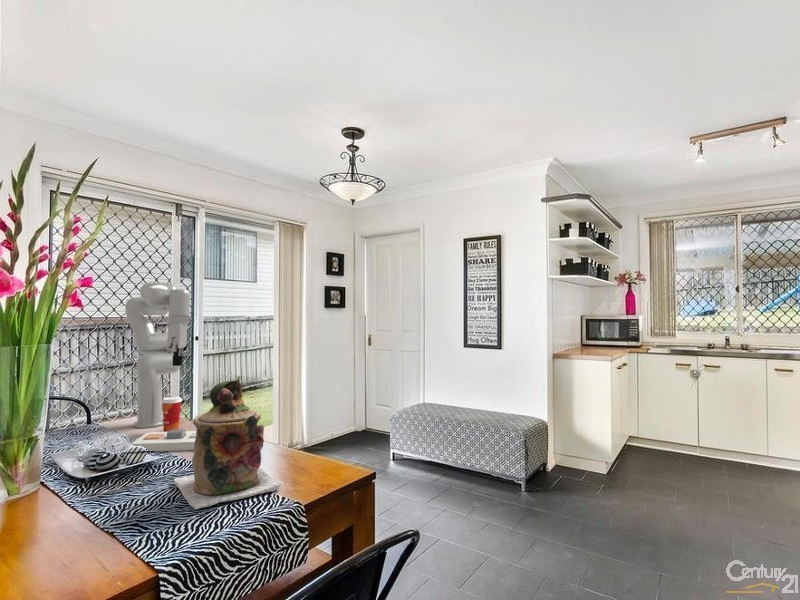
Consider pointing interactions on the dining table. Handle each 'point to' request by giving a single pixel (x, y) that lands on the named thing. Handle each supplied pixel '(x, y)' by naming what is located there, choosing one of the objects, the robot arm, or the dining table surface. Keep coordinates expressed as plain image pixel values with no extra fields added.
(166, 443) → the keypad
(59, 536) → the dining table surface
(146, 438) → the terracotta key
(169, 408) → the paper cup
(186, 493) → the cookie jar
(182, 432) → the charcoal key
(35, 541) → the dining table surface
